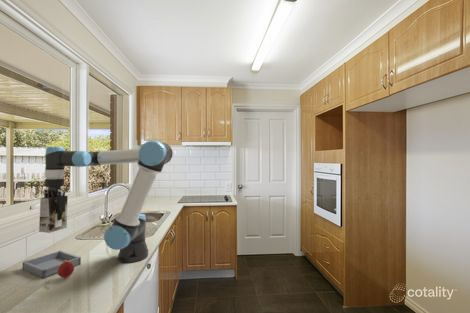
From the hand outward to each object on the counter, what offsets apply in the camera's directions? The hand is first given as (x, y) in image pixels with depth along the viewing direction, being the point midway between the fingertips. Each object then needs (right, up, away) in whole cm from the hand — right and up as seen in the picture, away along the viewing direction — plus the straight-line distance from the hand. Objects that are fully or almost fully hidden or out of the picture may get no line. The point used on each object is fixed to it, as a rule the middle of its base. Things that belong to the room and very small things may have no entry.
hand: (53, 225), depth 114 cm
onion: (+14, -20, -11) cm, 27 cm away
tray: (0, -20, 0) cm, 20 cm away
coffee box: (0, -2, 0) cm, 2 cm away
